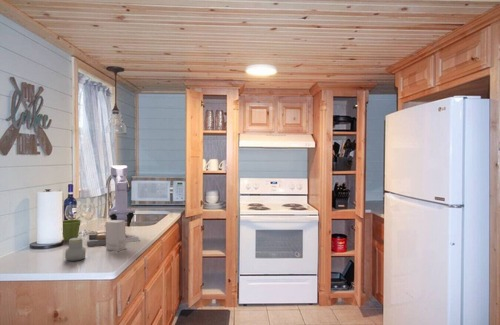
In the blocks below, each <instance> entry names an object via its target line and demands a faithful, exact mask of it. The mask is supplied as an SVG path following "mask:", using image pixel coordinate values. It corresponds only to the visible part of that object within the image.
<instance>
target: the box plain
mask: <svg viewBox="0 0 500 325" xmlns="http://www.w3.org/2000/svg"><path fill="white" fill-rule="evenodd" d="M95 232H96V233H95V234H96V240H97V234H104V233H106V230H98V231H95Z"/></svg>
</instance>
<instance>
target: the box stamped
mask: <svg viewBox="0 0 500 325" xmlns="http://www.w3.org/2000/svg"><path fill="white" fill-rule="evenodd" d="M97 240H106V233H104V234H97Z"/></svg>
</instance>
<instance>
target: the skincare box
mask: <svg viewBox="0 0 500 325" xmlns="http://www.w3.org/2000/svg"><path fill="white" fill-rule="evenodd" d="M105 232H106V245H105V250H106V251H113V252H121V251H122V250H125V249H127V242H126V238H127V236H126V220H125V221H123V220H108V221H105Z"/></svg>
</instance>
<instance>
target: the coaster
mask: <svg viewBox="0 0 500 325" xmlns="http://www.w3.org/2000/svg"><path fill="white" fill-rule="evenodd" d="M140 241H141V240H140V238H139V237H138V236H132V237H131V236H130V237H126V243H131V242H140Z"/></svg>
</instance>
